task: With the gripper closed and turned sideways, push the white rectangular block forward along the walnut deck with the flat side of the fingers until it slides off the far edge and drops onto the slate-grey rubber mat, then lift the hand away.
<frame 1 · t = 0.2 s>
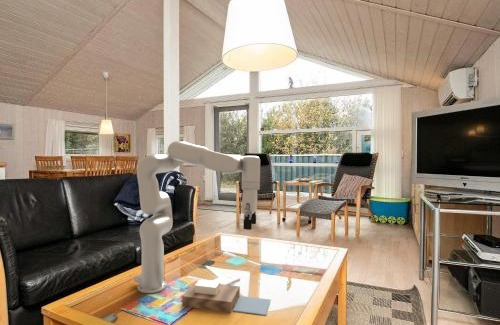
hand: (249, 226, 124), 31 cm above the table, tool pointing down, fingers open, 9 cm apart
white rectangular block: (207, 286, 123), point 5 cm above the table, touching deck
deck: (212, 300, 123), on the table
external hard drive: (225, 282, 141), on the table
mat: (252, 305, 119), on the table
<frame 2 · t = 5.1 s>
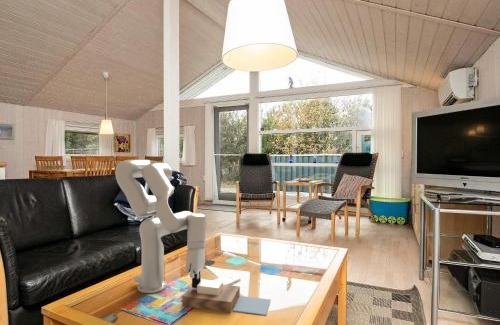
hand: (196, 287, 124), 5 cm above the table, tool pointing down, fingers closed
white rectangular block: (210, 287, 123), point 6 cm above the table, touching gripper
everything else where it was.
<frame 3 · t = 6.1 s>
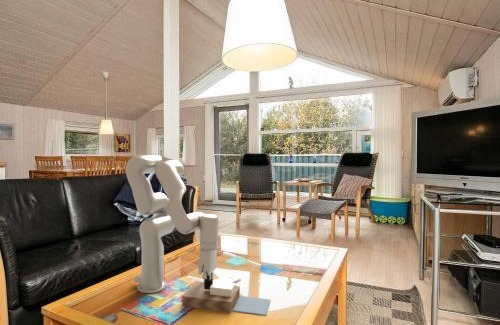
hand: (208, 288, 123), 5 cm above the table, tool pointing down, fingers closed
white rectangular block: (222, 288, 122), point 5 cm above the table, touching deck
everything else where it was.
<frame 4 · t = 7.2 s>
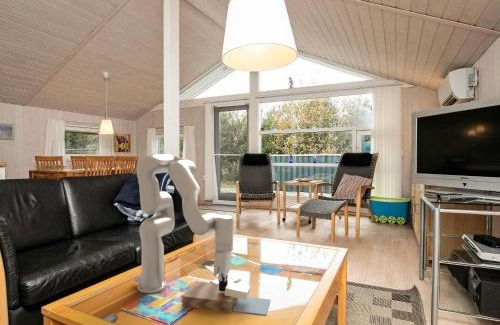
hand: (223, 290, 122), 5 cm above the table, tool pointing down, fingers closed
white rectangular block: (237, 290, 121), point 5 cm above the table, tilted 5°, touching gripper
everything else where it was.
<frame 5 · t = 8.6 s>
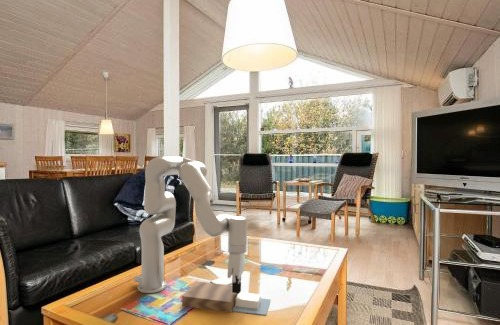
hand: (236, 292, 121), 5 cm above the table, tool pointing down, fingers closed
white rectangular block: (248, 300, 120), point 2 cm above the table, touching mat
everything else where it was.
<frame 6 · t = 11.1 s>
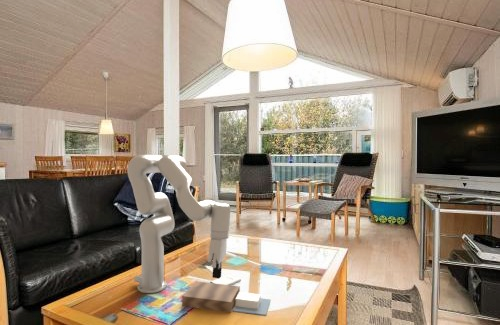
hand: (216, 277, 122), 10 cm above the table, tool pointing down, fingers closed
nothing on the table moved.
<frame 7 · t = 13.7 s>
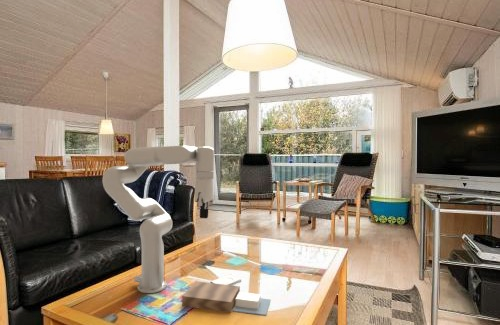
hand: (203, 217, 128), 33 cm above the table, tool pointing down, fingers closed
nothing on the table moved.
at the end: white rectangular block point 1.9 cm above the table; white rectangular block inside the target area (2.3 cm from its centre), point 1.9 cm above the table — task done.
